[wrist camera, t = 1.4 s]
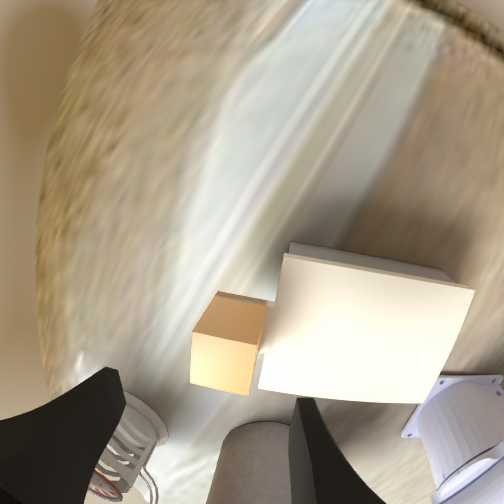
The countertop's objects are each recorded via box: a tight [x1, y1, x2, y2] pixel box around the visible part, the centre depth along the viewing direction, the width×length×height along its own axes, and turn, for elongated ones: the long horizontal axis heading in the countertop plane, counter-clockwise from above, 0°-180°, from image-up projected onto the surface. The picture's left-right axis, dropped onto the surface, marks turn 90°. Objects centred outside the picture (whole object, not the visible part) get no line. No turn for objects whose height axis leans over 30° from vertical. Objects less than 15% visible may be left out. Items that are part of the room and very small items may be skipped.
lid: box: [190, 253, 475, 403], centre depth 14 cm, size 15×9×4 cm, turn 82°
